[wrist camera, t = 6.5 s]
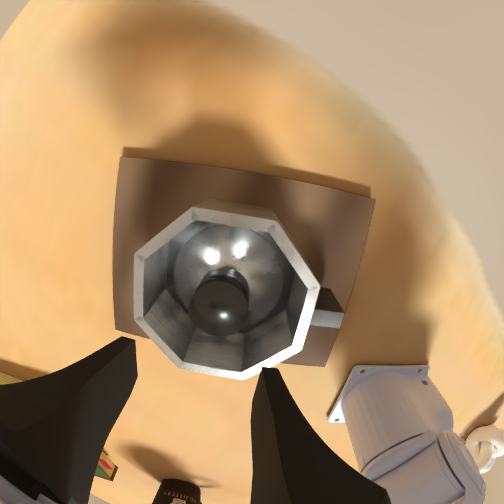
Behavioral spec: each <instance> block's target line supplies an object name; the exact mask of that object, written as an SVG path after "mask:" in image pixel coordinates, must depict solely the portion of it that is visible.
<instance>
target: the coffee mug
mask: <svg viewBox="0 0 504 504" xmlns="http://www.w3.org/2000/svg"><path fill="white" fill-rule="evenodd" d="M200 491H201V490H200V488H199V487H197V486H196V485H194V484H191V483H189V482H186V481H182V480H177V479H164V480H163V481H162V483H161V485H160V487H159V489H158V492H157V494H156V496H155V498H154V501H153V503H152V504H202V503H201V501H200Z"/></svg>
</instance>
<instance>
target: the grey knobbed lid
mask: <svg viewBox="0 0 504 504" xmlns="http://www.w3.org/2000/svg"><path fill="white" fill-rule="evenodd" d="M174 284H175V288H176V291H177V294H178V296H179V298H180V300H181V301H182V303H183V304H184V306H185V307H186V308H187V309H188V310H189V311H190V316H191V318H192V320H193V322H194V323H195V325H196V326H197V327H198V328H199V329H200V330H202V331H203V332H205V333H207V334H209V335H213V336H218V337H224V336H230V335H232V334H235V333H237V332H238V331H239V330H241V329H242V328H243V327H244V326H248V325H251V324H253V323H255V322H257V321H259V320H261V319H262V318H264V317H265V316H266V315H267V314H268V313H269V312H270V311H271V310H272V309H273V308H274V306H275V305H276V303H277V301H278V299H279V297H280V294H281V291H282V286H283V272H282V267H281V263H280V259H279V257H278V255H277V253H276V251H275V249H274V248H273V246H272V245H271V244H270V243H269V242H268V241H267V240H266V239H265V238H264V237H263V236H262V235H260V234H259V233H257V232H256V231H254V230H252V229H247V228H241V227H235V226H229V225H223V224H218V225H213V226H210V227H207V228H205V229H203V230H201V231H199V232H198V233H196V234H195V235H193V236H192V237H191V238H190V239H189V240H188V241H187V242H186V243H185V244H184V246H183V247H182V248H181V250H180V252H179V254H178V256H177V258H176V262H175V266H174Z"/></svg>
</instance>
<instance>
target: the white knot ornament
mask: <svg viewBox="0 0 504 504" xmlns="http://www.w3.org/2000/svg"><path fill="white" fill-rule="evenodd" d="M465 446H466V447H467V448H468V450H469V452H470V453H471V455H472V457H473V458H474V460H475V462H476V464H477V466H478V469H479V471H480V473H485V472H487V471H488V470H490V468H491V467H492V466H493V465H494V463H495V461H496V458H497V457H499V456H502V455H503V454H504V431H503V430H501V429H499V428H497V427H496V426H495V425H492V424H490V425H488V426H484V427H479V428H477V429H475V430H473V431H472V432H471V433H470V434H469V436H468V437H467V439H466V443H465Z"/></svg>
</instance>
